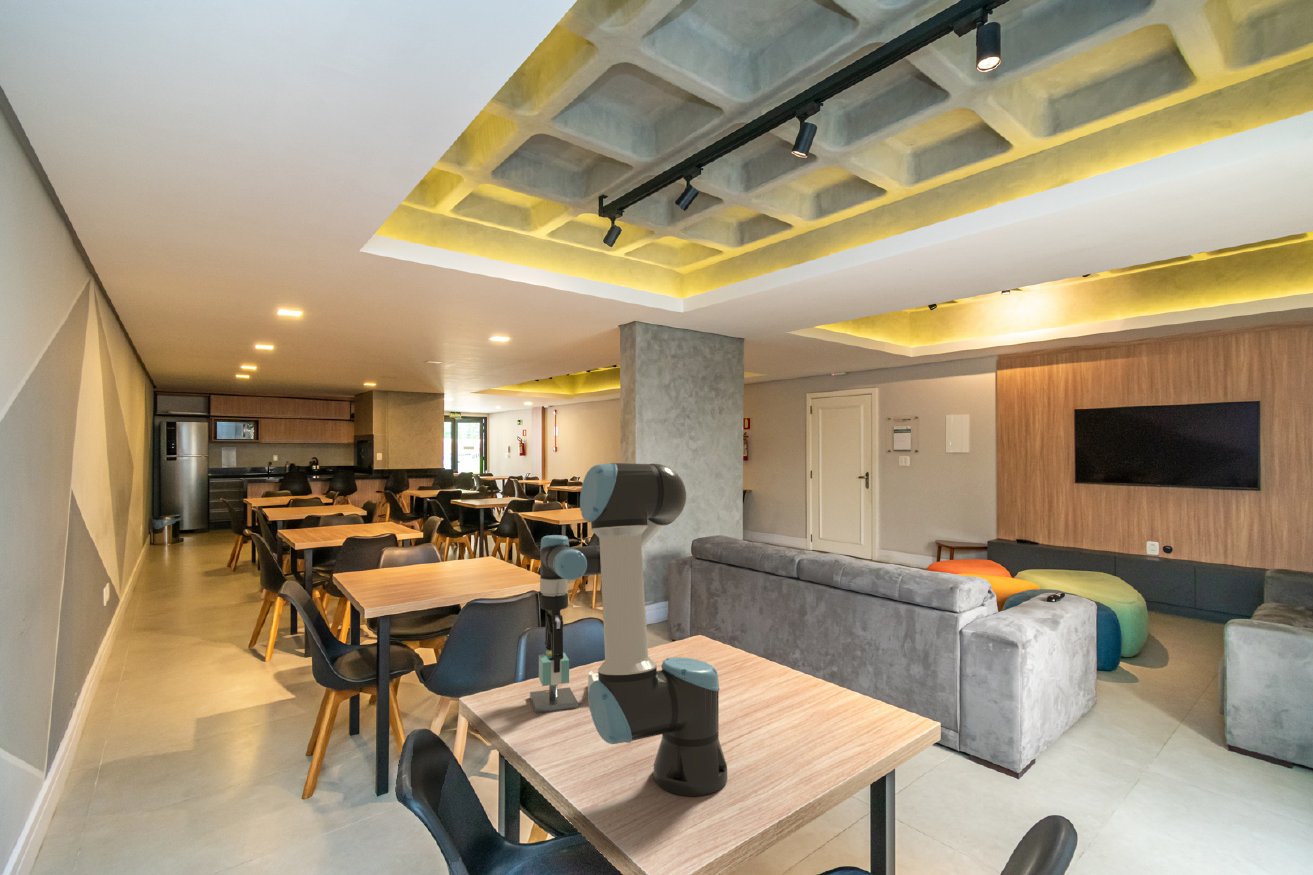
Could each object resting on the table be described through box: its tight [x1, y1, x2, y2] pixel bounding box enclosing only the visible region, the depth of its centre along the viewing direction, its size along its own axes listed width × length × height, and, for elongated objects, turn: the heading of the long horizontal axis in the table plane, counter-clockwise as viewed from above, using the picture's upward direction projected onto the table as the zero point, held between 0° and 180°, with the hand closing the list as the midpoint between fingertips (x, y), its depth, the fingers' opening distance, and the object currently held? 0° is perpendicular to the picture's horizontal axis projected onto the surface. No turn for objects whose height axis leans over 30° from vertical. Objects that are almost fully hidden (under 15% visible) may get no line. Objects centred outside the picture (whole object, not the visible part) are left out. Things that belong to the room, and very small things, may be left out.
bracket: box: [587, 670, 598, 703], centre depth 170 cm, size 13×7×8 cm, turn 0°
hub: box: [538, 651, 570, 687], centre depth 164 cm, size 7×7×7 cm
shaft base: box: [529, 684, 579, 714], centre depth 163 cm, size 11×11×10 cm
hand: (553, 678), depth 164 cm, fingers closed on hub, 7 cm apart
